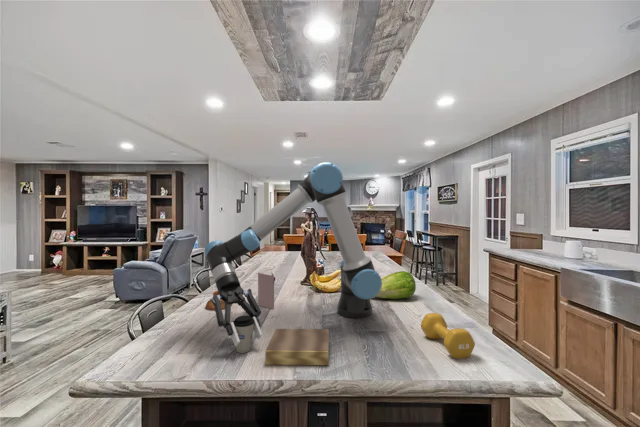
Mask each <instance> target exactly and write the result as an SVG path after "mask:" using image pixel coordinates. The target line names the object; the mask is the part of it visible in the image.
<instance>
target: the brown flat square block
mask: <svg viewBox="0 0 640 427" xmlns="http://www.w3.org/2000/svg"><path fill="white" fill-rule="evenodd" d="M329 332H330V330H329V328H275V329H274V331H273V334H272V336H271V338H270V341H269V342H268V345H267V347H266V348H265V354H264V355H265V356H264V358H265V365H270V366H271V365H273V366H274V365H276V366H277V365H280V366H281V365H283V366H284V365H285V366H286V365H287V366H291V365H292V366H329V356H330V355H329V354H330V353H329V346H330V345H329V344H330V341H329V339H330V337H329V336H330V333H329Z"/></svg>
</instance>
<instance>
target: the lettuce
mask: <svg viewBox="0 0 640 427" xmlns="http://www.w3.org/2000/svg"><path fill="white" fill-rule="evenodd" d="M381 280H382V286H381V289H380V291H379V293H378V294H377V295H376V296H375V297H376V298H380V299H388V300H389V299H390V300H399V299H409V298H411V296H413V295H414V294H415V292H416V290H417V289H416V288H417V287H416V286H417V285H416V281H415V278H414V276H413V274H412V273H410V271H405V270H402V271H401V270H400V271H396V272H393V273H392V272H391V273H389V274H387V275H386V276H383V277H381ZM375 297H374V298H375Z"/></svg>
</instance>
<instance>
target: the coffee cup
mask: <svg viewBox="0 0 640 427" xmlns="http://www.w3.org/2000/svg"><path fill="white" fill-rule="evenodd" d="M232 322H233V323H234V326H235V329H236V331H237V334H238V337H239V340H240V342H239V344H238V345H237V346H235V350H236V353H240V354H241V353H243V354H246V353H249V352H250V351H251V350H252V345H253V344H252V343H253V335H254V330H253V327H254V323H255V321H254V319H252V318H251V317H250V316H249V315H240V316H237V317H236V318H234V320H233V321H232Z"/></svg>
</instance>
